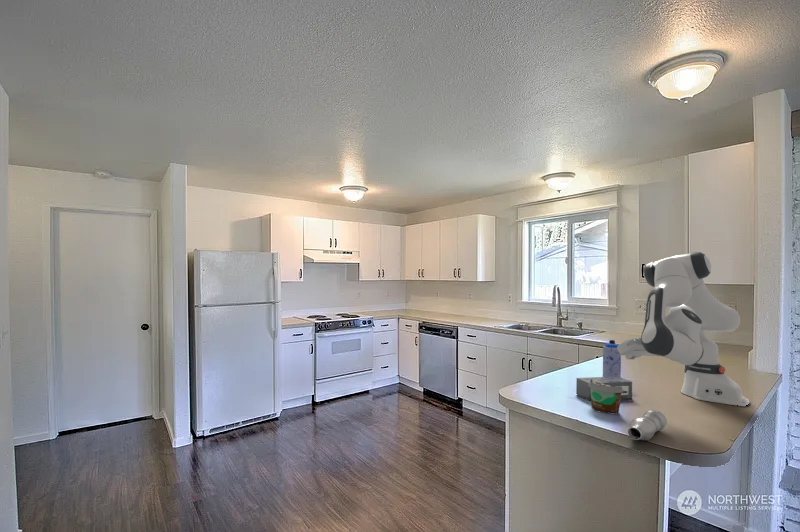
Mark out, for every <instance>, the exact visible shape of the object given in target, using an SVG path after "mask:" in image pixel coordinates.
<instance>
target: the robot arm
mask: <svg viewBox="0 0 800 532" xmlns="http://www.w3.org/2000/svg"><path fill="white" fill-rule="evenodd" d="M711 269H712V263H711V261H710V259H709V257H707V256H706V254H705V253H703V252H700V251H694V252H693V251H692V252H690V253H683V254H677V255H673V256H670V257H665V258H662V259H659V260H656V261H651V262H649V263H647V264H645V266H644V267H643V277H644V280H645V281H646V283H647V285H649V286H651V287H654V288H653V289H651V290H650V291H649V293H648V295H647V299H646V307H645V315H644V316H645V317H644V325H643V326H644V327H643V329H642V332H641V337H630V338H628V339H626V340H625V341H623V342H621V343H620V344H618V346H617V349H618V351H619V353H620V354H621V356H624V358H625V359H626V360H629V361H630V360H631V361H632V360H635V359H637V358H641V357H662V358H665V359H666V360H669V361H672V362H675V363H678V364H681V365H683V371H684V379H683V385H682V387H681V390H680V392H681V393H682V394H684V395H686V396H688V397H692V398H694V399H696V400H699V401H704V402H712V403H718V404H725V405H731V406H732V405H733V406H737V405H738V406H737V407H747V406H746V405H748V404H749V405H750V400H749V398H747V397H745V396H744V395H743V392H742V388H741V386H740V385H739V384H738V383H737V382H736V381H734V380H733V379H731V378H730V377H729V376H728V375H726V374H725V372H726V368H725V366H724V365H722V364H720V363H719V346H718V345H717V343H716V342H714V341H713V340H712V339H710V338H708V336H707V335H706V334H705V331H707V332H715V333H716V332H717V333H726V332H727V333H729V332H735V330H737V329H738V328H739V326H740V325H741V316H740V314H739V312H738V311H737V310H736V309H735V308H732V307H730V306H729V305H726V304H724V303H722V302H721V301H720V300H718V299H717V298H716V297H715V296H713V295H712V293H710V291H709V289H708V287H707V286H706V284H705V282H704V280H703V279H705V278H707V277H709V275H710V274H711V271H712V270H711ZM667 308H668V309H669V310H668V314H666V309H667ZM749 405H748V406H749Z"/></svg>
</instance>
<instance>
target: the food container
mask: <svg viewBox="0 0 800 532" xmlns="http://www.w3.org/2000/svg"><path fill="white" fill-rule="evenodd" d="M588 386H589V387H590V391H591V401H590V402H591V408H592V409H593V410H594V411H597V412H599V411H600V413H603V412H604V414H610V413H616V414H619V413H620V405H621V399H620V398H621V393H622V392H623V388H622V386H620V387H613V386H611V385H608V384H604V383H597V382H593V381H592V379H590V381H589V384H588Z"/></svg>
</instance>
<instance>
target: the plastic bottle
mask: <svg viewBox="0 0 800 532" xmlns="http://www.w3.org/2000/svg"><path fill="white" fill-rule="evenodd" d="M667 425H668V419H667V417H666V416H665V414H664V413H663V412H661V411H660V410H656V409H648V410H647V411H644V413H643V415H642V416H641V417H638V418H634V419H632V420H630V423H629V425H628V427H629V428H628V429H627V434H628V436H629V437H630V439H632V440H634V441H638V440H641V441H648V440H649V441H650V440H651V439H652V438H653V437H654V434H655V433H657V432H659V431H663V430H665V428H666V426H667Z"/></svg>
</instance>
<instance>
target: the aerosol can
mask: <svg viewBox="0 0 800 532" xmlns="http://www.w3.org/2000/svg"><path fill="white" fill-rule="evenodd" d="M618 345H619V344H617V343H616V341H615V340H614V339H610V340H609V342H606V343H605V344H604V345H603V347H602V377H617V376H618V377H620V378H622V377H621V375H622V374H621V372H622V371H621V368H622V367H621V366H622V365H621V364H622V355H621V354H620V353H619V351H618V349H617V346H618Z"/></svg>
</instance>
